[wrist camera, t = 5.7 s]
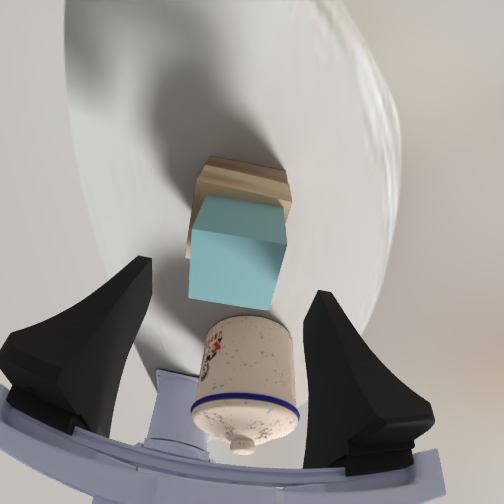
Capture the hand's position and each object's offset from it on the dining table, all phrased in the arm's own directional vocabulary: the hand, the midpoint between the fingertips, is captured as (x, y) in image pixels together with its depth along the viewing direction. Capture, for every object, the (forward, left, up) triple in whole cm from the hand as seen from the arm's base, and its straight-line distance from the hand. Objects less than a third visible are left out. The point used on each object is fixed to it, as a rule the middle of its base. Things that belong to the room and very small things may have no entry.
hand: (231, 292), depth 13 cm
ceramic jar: (-16, -4, -10) cm, 19 cm away
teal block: (0, 0, -5) cm, 5 cm away
